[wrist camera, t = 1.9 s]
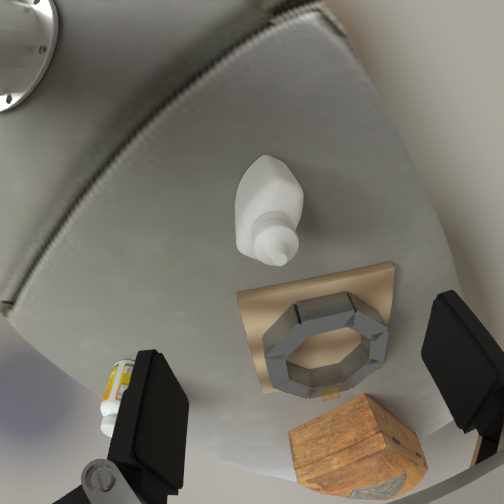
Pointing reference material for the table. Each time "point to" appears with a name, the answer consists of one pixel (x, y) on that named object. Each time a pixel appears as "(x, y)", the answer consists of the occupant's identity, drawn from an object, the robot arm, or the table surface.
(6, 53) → the robot arm
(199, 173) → the table surface
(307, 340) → the square wooden board
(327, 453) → the wooden box
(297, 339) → the gray octagonal ring
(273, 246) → the eye dropper bottle
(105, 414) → the supplement bottle
